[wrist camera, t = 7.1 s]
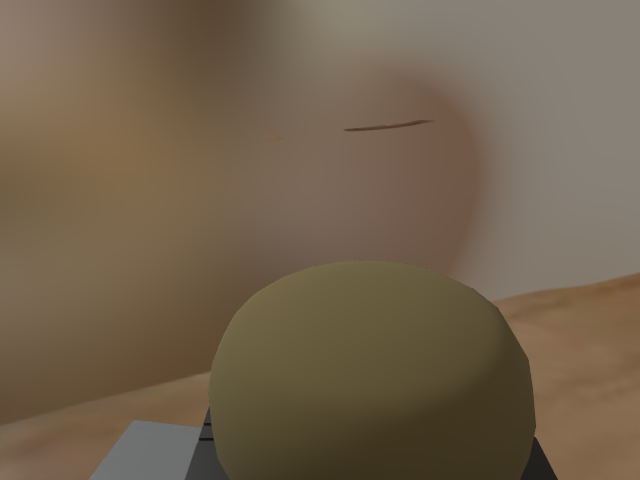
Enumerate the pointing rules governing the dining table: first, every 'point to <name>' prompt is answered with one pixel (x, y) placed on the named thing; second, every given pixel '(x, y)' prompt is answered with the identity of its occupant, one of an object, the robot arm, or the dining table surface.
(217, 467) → the robot arm
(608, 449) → the dining table surface
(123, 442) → the slate tile
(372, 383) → the cork
